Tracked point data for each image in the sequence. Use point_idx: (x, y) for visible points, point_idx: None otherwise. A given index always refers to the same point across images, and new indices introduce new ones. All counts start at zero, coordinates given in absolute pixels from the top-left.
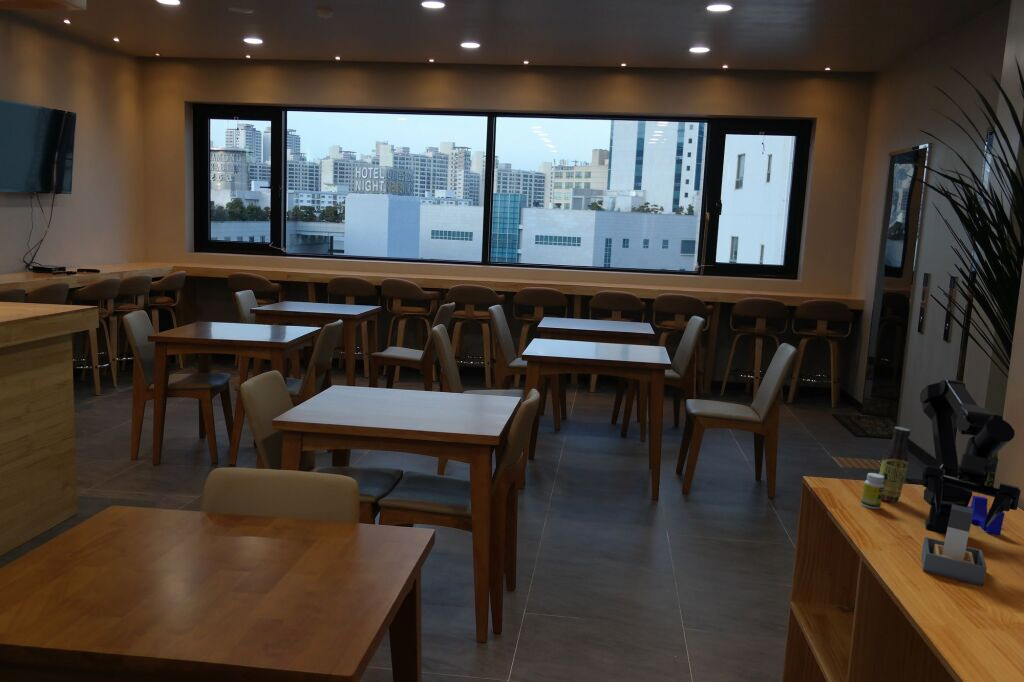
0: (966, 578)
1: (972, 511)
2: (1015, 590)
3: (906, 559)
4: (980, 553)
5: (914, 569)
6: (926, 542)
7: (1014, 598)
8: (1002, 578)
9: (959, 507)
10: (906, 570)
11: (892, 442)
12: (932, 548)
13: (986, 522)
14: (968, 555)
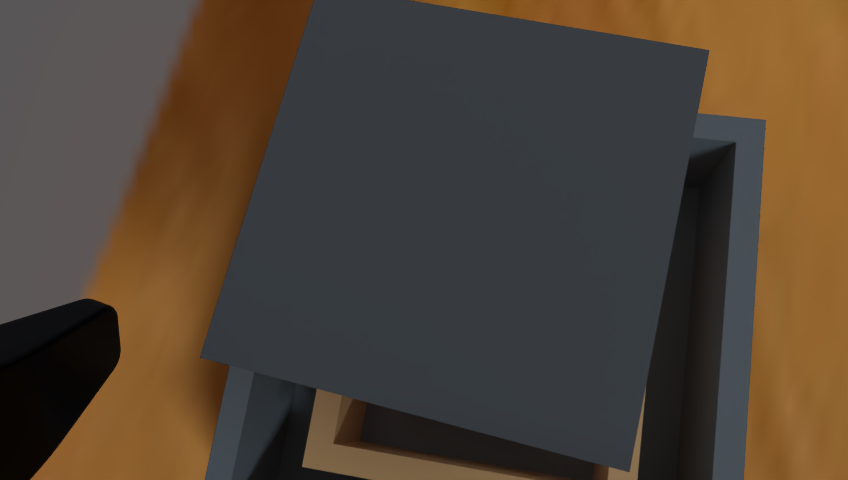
0: None
1: (275, 155)
2: (126, 189)
3: (829, 374)
4: (233, 431)
5: (779, 181)
6: (733, 453)
7: (185, 47)
8: (135, 377)
9: (501, 278)
10: (841, 125)
11: None
12: None
13: (70, 311)
14: (342, 421)
